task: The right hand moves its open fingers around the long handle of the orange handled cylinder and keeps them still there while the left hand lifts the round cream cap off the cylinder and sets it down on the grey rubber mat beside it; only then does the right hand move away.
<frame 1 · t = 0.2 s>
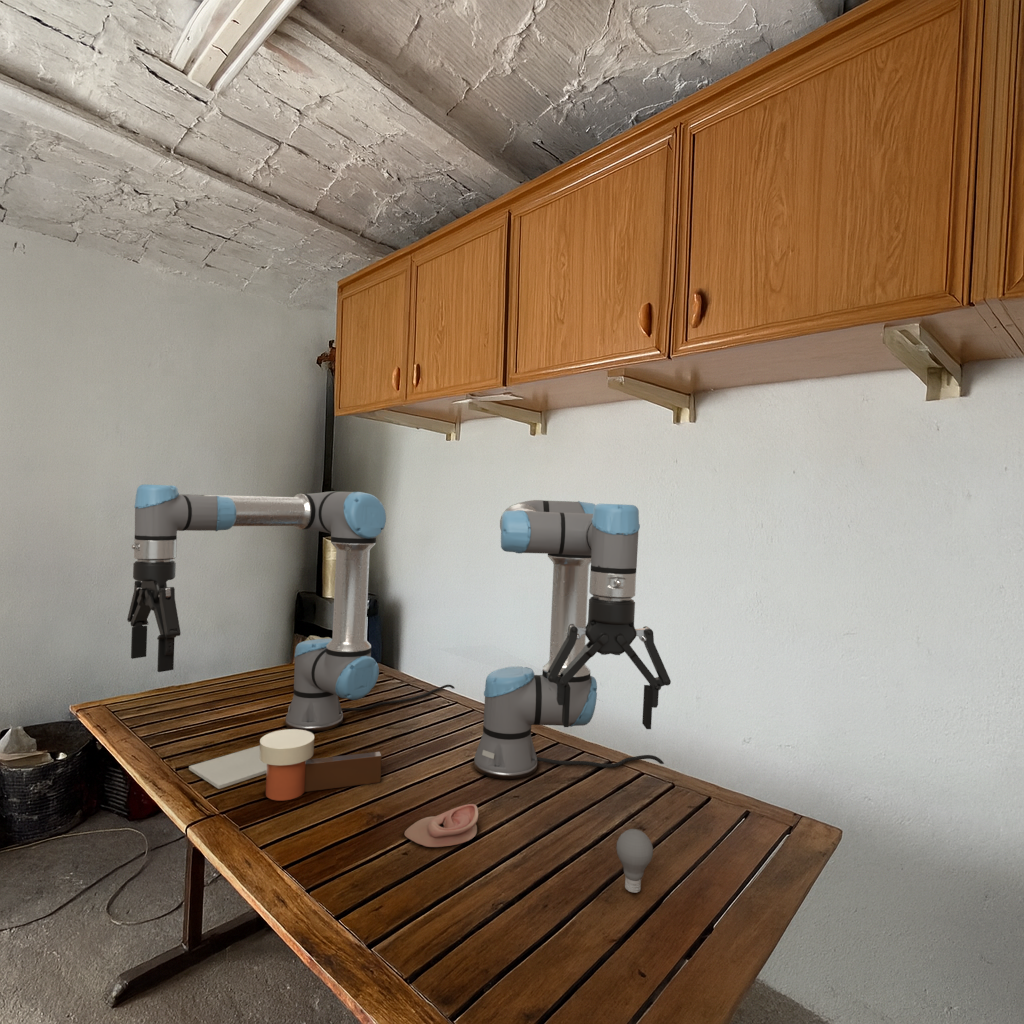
left hand: (151, 664, 129), 28 cm above the table, fingers open, 13 cm apart
right hand: (606, 725, 105), 28 cm above the table, fingers open, 13 cm apart
light bulb: (632, 891, 106), on the table
fossil: (324, 679, 217), on the table
orange handled cylinder: (285, 791, 135), on the table, touching cap
grey mat: (246, 765, 147), on the table
cap: (286, 754, 135), point 8 cm above the table, touching orange handled cylinder
anatomical model: (441, 833, 121), on the table
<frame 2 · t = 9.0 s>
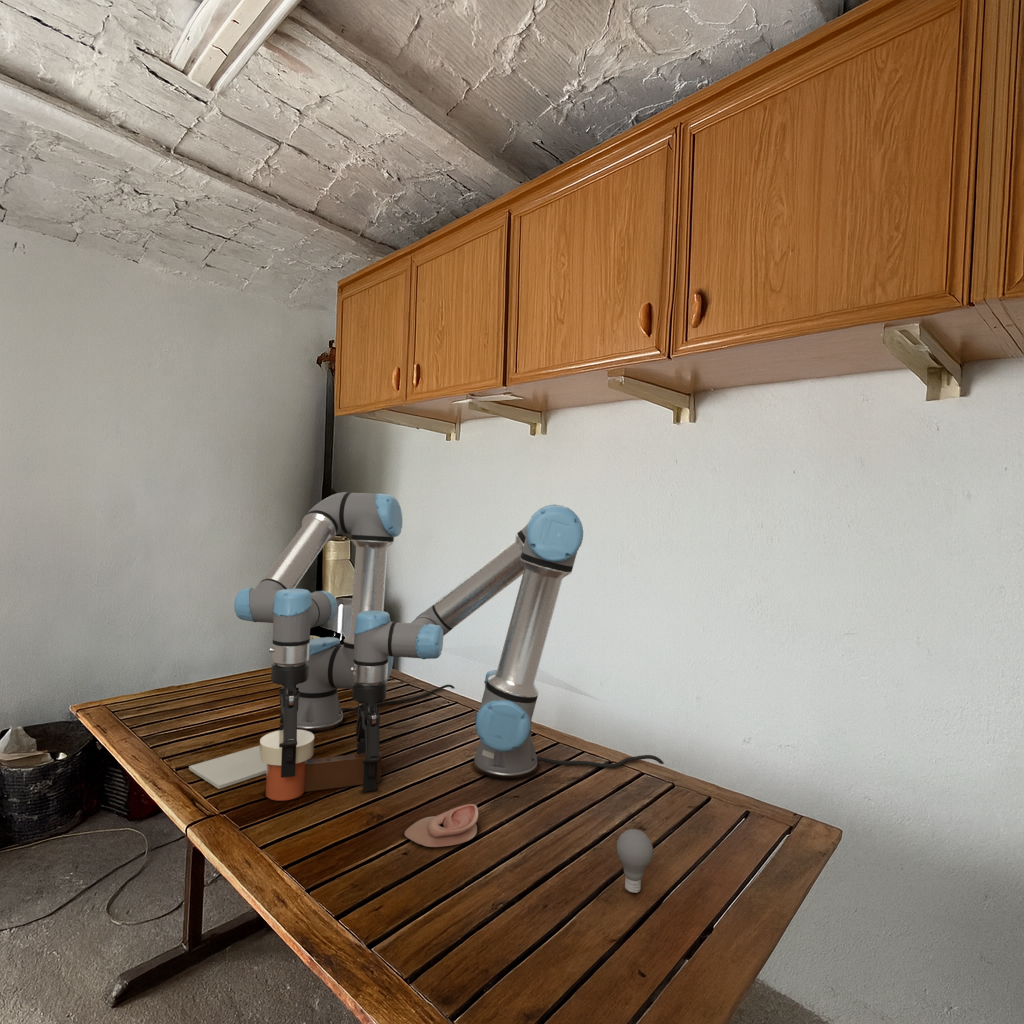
left hand: (286, 764, 135), 6 cm above the table, fingers closed on cap, 11 cm apart
right hand: (365, 780, 142), 0 cm above the table, fingers open, 9 cm apart
cap: (286, 754, 135), point 8 cm above the table, touching orange handled cylinder, left hand
everything else where it was.
when the left hand's fingers open (2 cm above the table, at t = 15.8 s): cap drops 3 cm, resting on grey mat.
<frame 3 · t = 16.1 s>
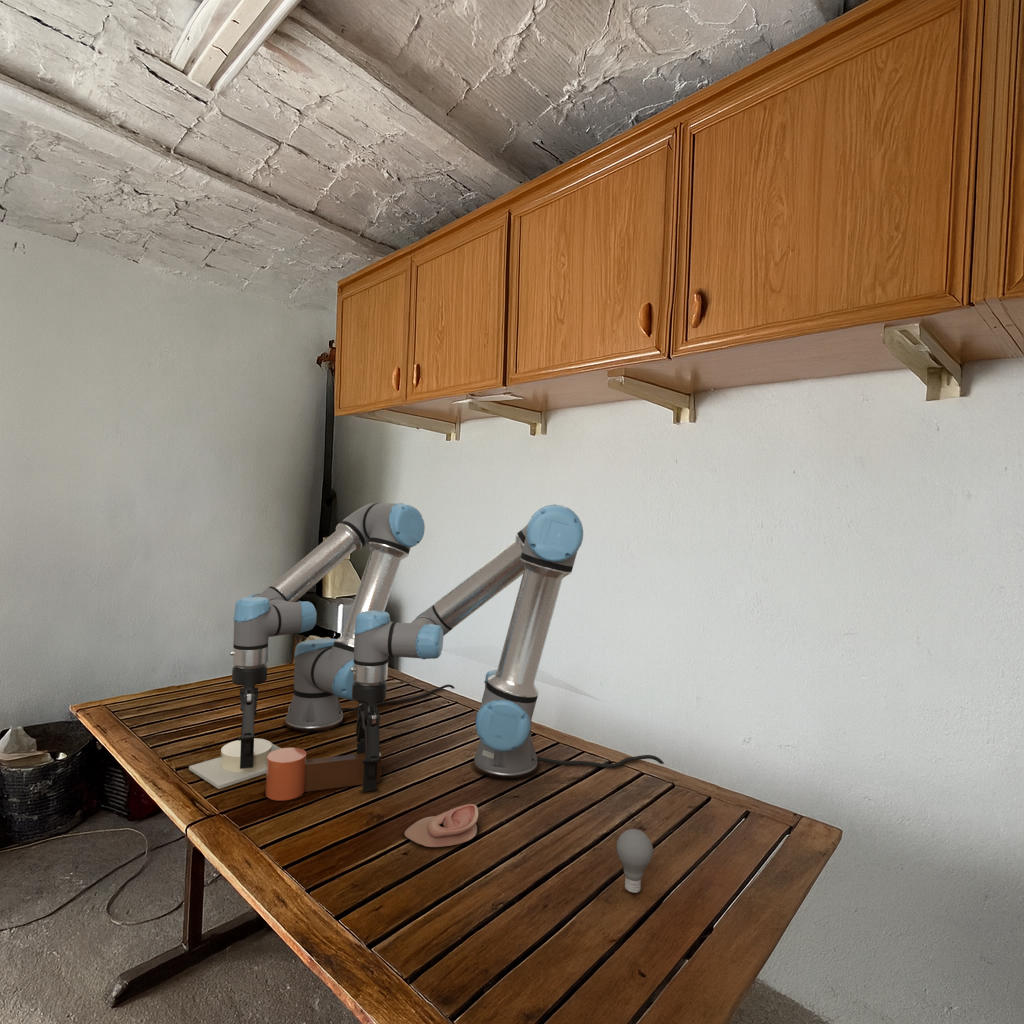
left hand: (246, 755, 147), 2 cm above the table, fingers open, 13 cm apart
right hand: (365, 780, 142), 0 cm above the table, fingers open, 9 cm apart
orange handled cylinder: (285, 791, 135), on the table
cap: (246, 762, 147), point 1 cm above the table, touching grey mat
everything else where it was.
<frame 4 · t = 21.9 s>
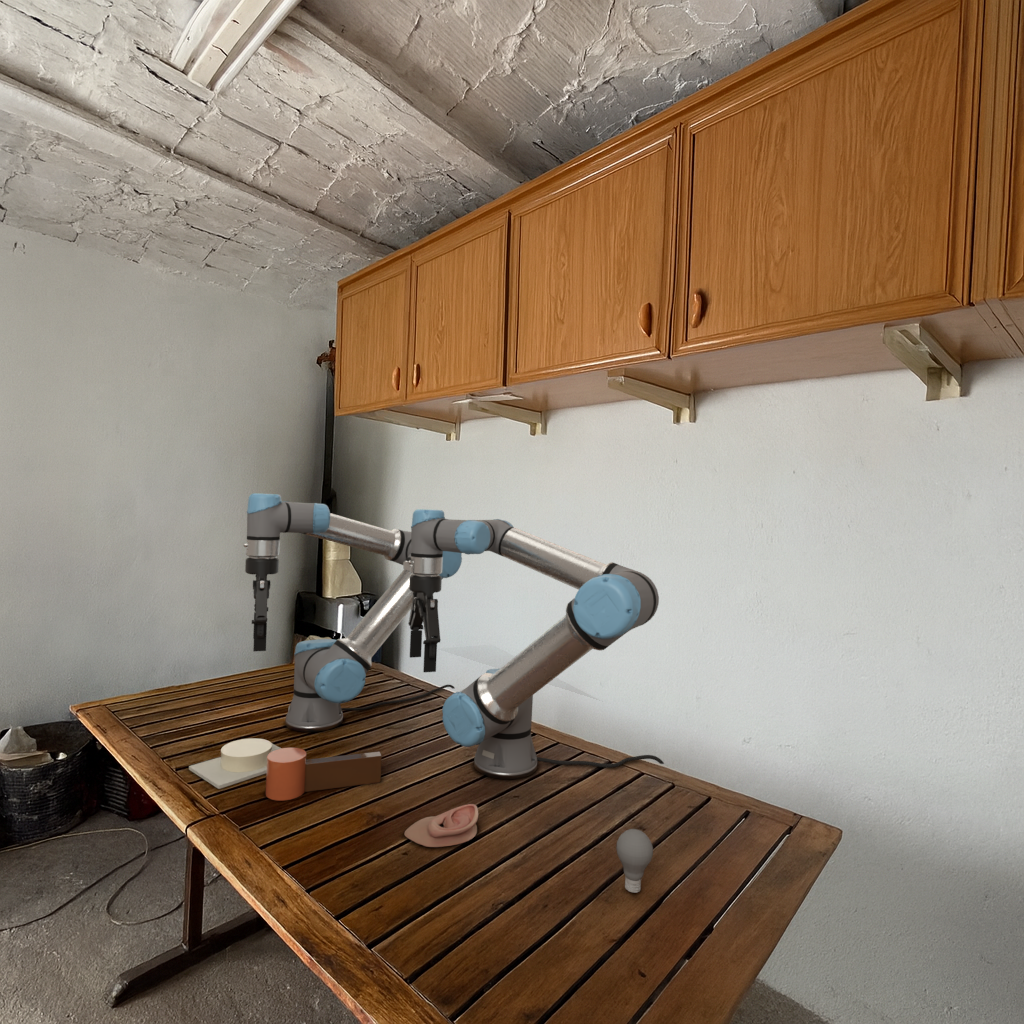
left hand: (259, 644, 154), 27 cm above the table, fingers open, 13 cm apart
right hand: (422, 664, 150), 25 cm above the table, fingers open, 13 cm apart
nothing on the table moved.
at the end: cap inside the target area (0.0 cm from its centre), point 0.8 cm above the table; orange handled cylinder moved 0.0 cm from its start; the left hand is holding nothing; the right hand is holding nothing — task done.
